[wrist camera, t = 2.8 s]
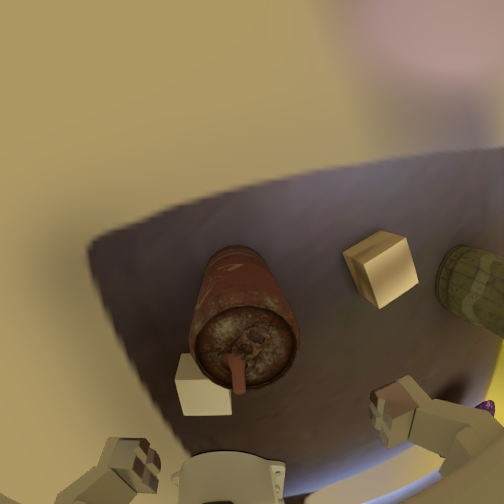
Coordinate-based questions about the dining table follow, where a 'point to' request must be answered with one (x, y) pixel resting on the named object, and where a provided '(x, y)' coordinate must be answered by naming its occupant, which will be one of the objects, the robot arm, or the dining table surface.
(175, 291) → the dining table surface
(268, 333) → the can
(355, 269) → the maple block
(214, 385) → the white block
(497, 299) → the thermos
